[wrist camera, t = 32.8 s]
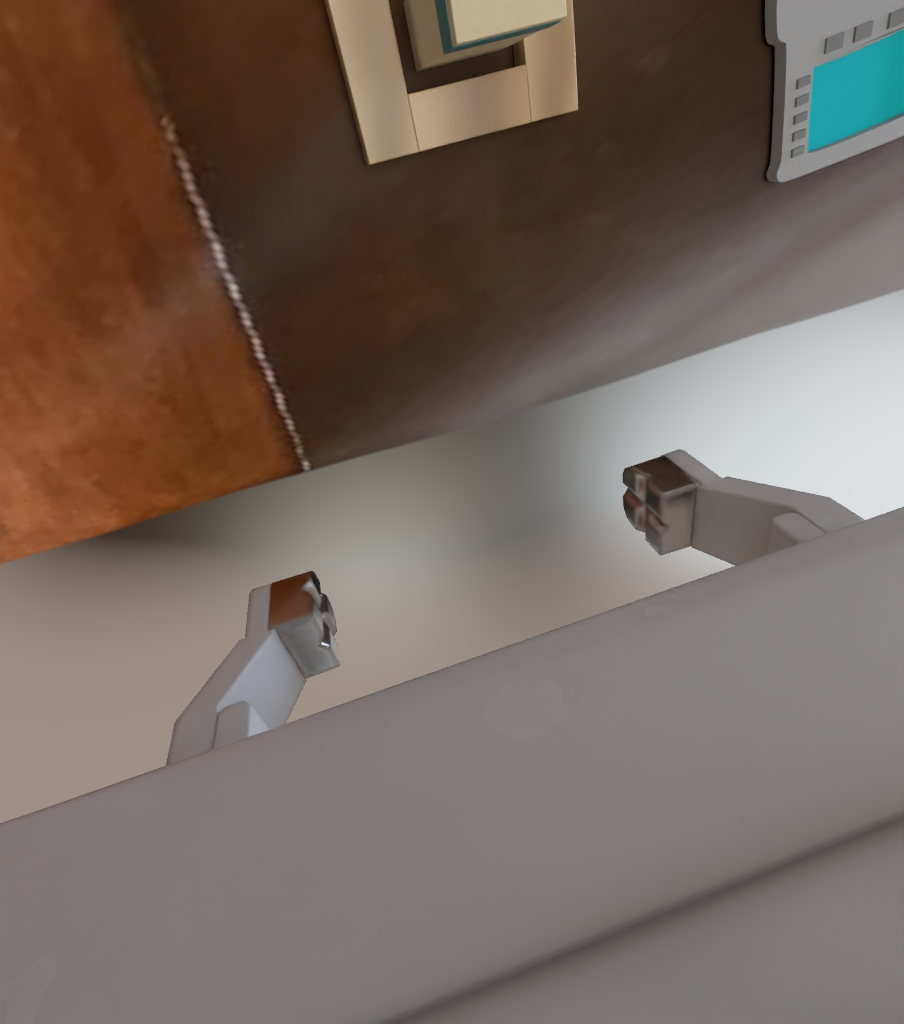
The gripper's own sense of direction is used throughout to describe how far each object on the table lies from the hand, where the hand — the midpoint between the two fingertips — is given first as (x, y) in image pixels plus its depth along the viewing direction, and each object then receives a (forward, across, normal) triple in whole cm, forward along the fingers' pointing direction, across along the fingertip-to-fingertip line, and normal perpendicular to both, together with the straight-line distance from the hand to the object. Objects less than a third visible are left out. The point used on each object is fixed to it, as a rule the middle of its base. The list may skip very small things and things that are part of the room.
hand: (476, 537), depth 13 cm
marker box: (+31, -10, -12) cm, 35 cm away
